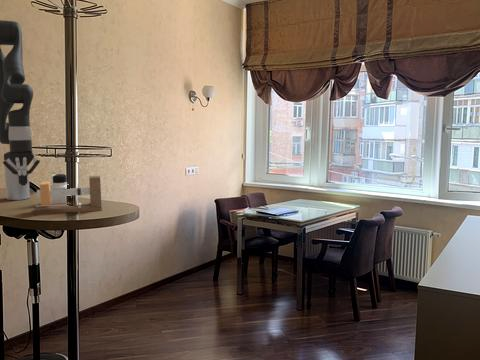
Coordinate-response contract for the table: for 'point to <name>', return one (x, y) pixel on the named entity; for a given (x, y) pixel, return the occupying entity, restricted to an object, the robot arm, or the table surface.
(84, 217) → the table surface
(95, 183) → the stand
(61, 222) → the table surface
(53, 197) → the medicine bottle
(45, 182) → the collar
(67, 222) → the table surface
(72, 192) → the pipe
